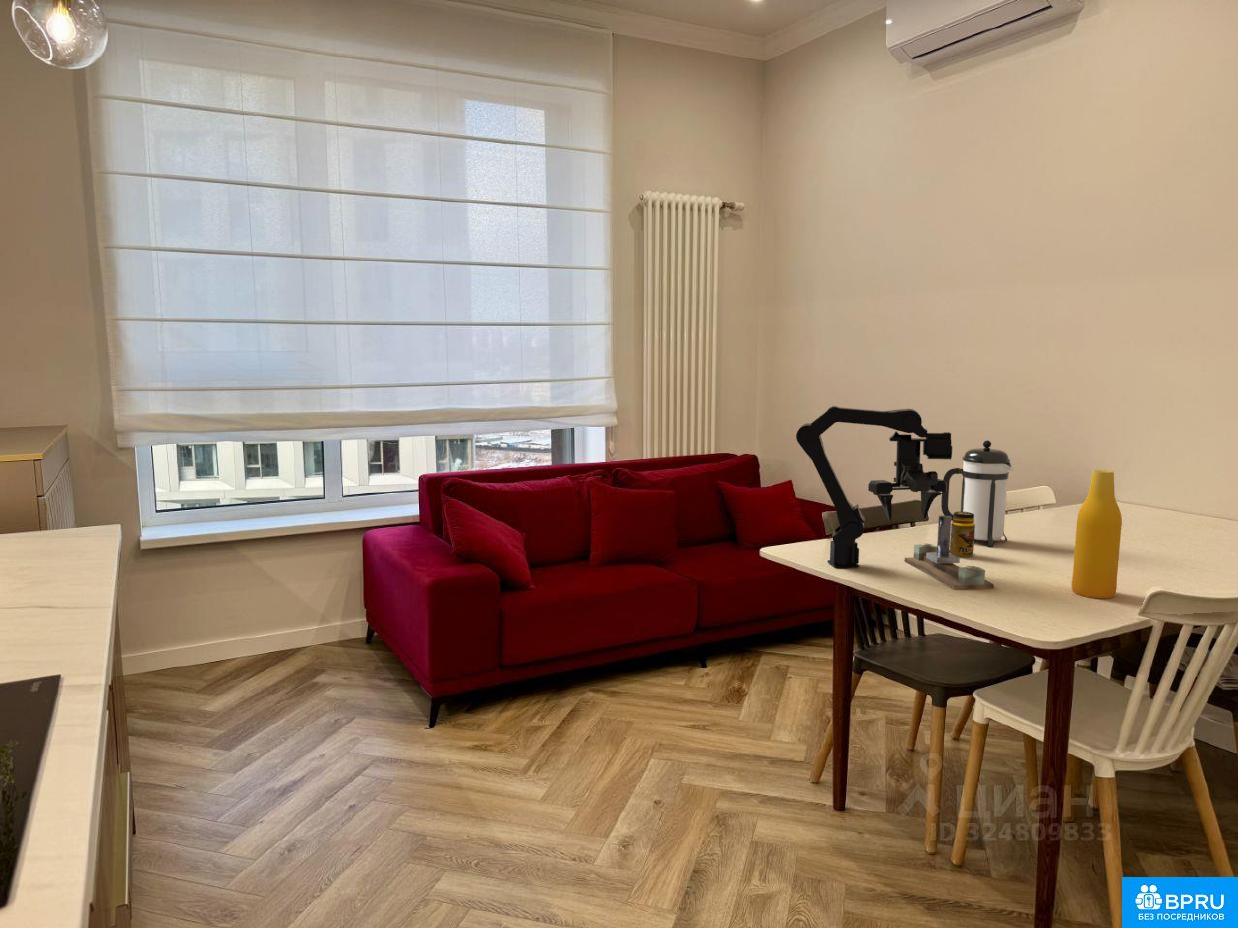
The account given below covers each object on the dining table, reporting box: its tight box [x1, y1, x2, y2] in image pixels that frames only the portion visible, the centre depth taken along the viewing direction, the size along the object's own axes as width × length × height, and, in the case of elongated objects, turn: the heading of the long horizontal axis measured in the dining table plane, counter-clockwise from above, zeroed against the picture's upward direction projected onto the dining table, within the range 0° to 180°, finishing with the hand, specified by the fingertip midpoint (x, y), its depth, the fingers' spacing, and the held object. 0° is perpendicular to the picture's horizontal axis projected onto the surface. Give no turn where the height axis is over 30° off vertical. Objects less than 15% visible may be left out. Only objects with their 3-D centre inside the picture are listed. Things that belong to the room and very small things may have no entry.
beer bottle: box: [1071, 469, 1123, 600], centre depth 204 cm, size 9×9×29 cm
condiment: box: [949, 510, 977, 560], centre depth 242 cm, size 7×8×12 cm
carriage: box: [926, 514, 961, 564], centre depth 224 cm, size 6×6×11 cm
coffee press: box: [940, 440, 1014, 548], centre depth 258 cm, size 17×16×30 cm
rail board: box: [903, 542, 995, 590], centre depth 222 cm, size 10×27×5 cm, turn 7°
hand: (906, 519), depth 225 cm, fingers open, 9 cm apart
